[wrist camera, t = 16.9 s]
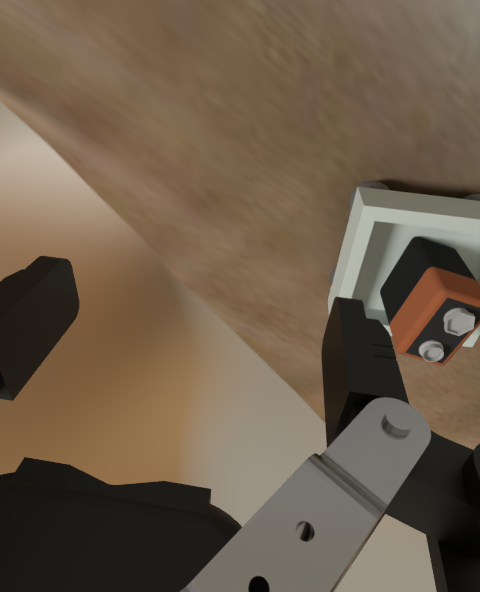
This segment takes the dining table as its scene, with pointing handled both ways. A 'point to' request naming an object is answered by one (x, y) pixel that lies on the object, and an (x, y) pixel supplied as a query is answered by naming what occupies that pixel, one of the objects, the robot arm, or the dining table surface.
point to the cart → (399, 240)
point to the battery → (431, 301)
